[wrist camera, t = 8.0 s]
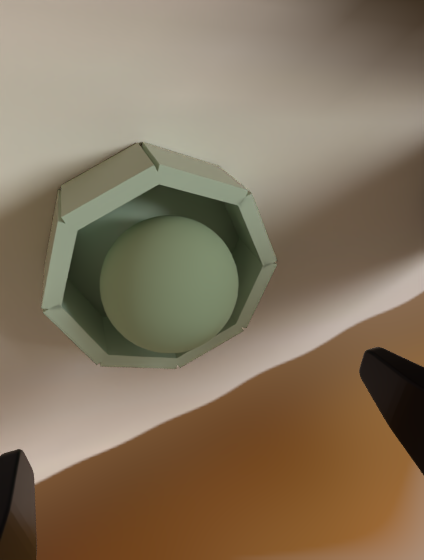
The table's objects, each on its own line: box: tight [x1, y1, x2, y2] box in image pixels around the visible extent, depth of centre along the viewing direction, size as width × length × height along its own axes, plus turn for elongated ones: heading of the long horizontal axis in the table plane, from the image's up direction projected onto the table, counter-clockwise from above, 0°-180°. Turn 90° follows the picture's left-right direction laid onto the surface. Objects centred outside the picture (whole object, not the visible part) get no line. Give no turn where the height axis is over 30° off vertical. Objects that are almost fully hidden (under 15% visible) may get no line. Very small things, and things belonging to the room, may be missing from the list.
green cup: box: [41, 142, 277, 369], centre depth 15 cm, size 8×8×3 cm
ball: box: [100, 215, 239, 353], centre depth 14 cm, size 5×5×5 cm
